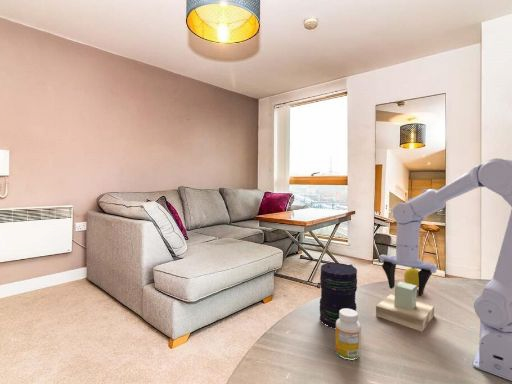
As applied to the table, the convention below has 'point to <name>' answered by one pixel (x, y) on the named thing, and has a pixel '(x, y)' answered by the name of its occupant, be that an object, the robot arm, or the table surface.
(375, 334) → the table surface
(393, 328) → the table surface
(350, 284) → the storage jar
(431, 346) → the table surface
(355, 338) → the supplement bottle
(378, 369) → the table surface
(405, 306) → the sage block
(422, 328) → the birch plinth
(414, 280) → the lemon
